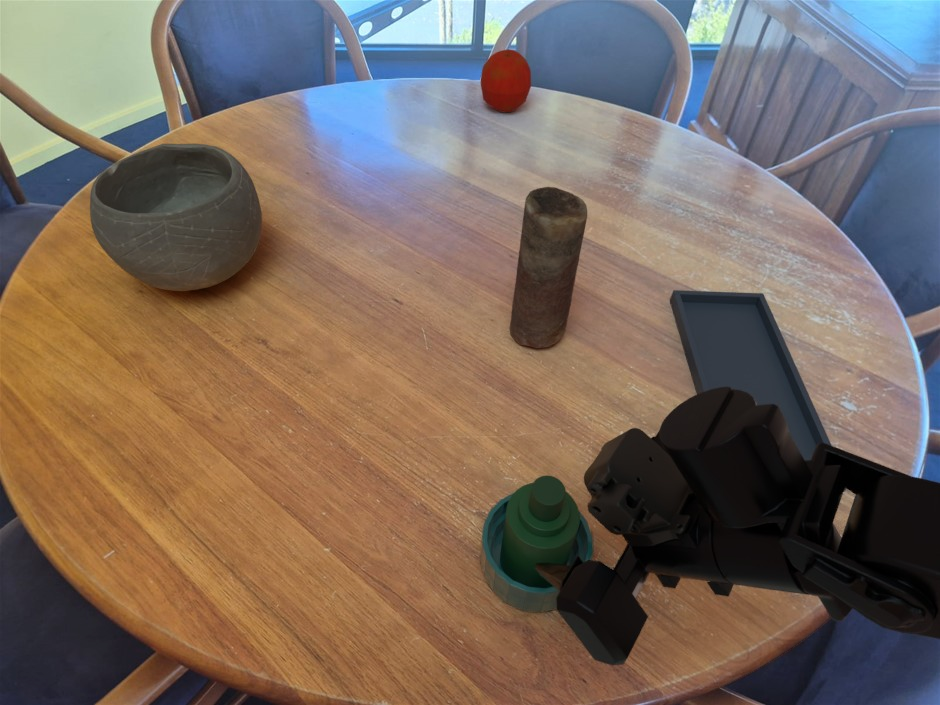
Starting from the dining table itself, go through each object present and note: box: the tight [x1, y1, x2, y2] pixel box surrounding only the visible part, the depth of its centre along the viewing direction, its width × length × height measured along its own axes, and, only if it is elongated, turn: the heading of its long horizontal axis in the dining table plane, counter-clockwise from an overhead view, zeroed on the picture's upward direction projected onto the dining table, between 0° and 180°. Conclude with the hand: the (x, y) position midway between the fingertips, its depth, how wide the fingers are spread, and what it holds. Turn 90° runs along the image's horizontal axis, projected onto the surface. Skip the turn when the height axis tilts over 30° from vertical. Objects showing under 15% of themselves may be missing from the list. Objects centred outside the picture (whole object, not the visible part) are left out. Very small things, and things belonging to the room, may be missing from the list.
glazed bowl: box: [479, 492, 594, 613], centre depth 59 cm, size 10×10×5 cm
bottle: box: [500, 475, 580, 588], centre depth 56 cm, size 6×6×13 cm
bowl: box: [89, 143, 263, 292], centre depth 85 cm, size 21×21×15 cm
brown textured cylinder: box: [509, 186, 588, 349], centre depth 76 cm, size 8×7×20 cm
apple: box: [480, 48, 532, 113], centre depth 123 cm, size 10×10×12 cm
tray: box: [669, 289, 847, 493], centre depth 77 cm, size 31×13×2 cm, turn 179°
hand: (565, 527), depth 53 cm, fingers open, 9 cm apart
